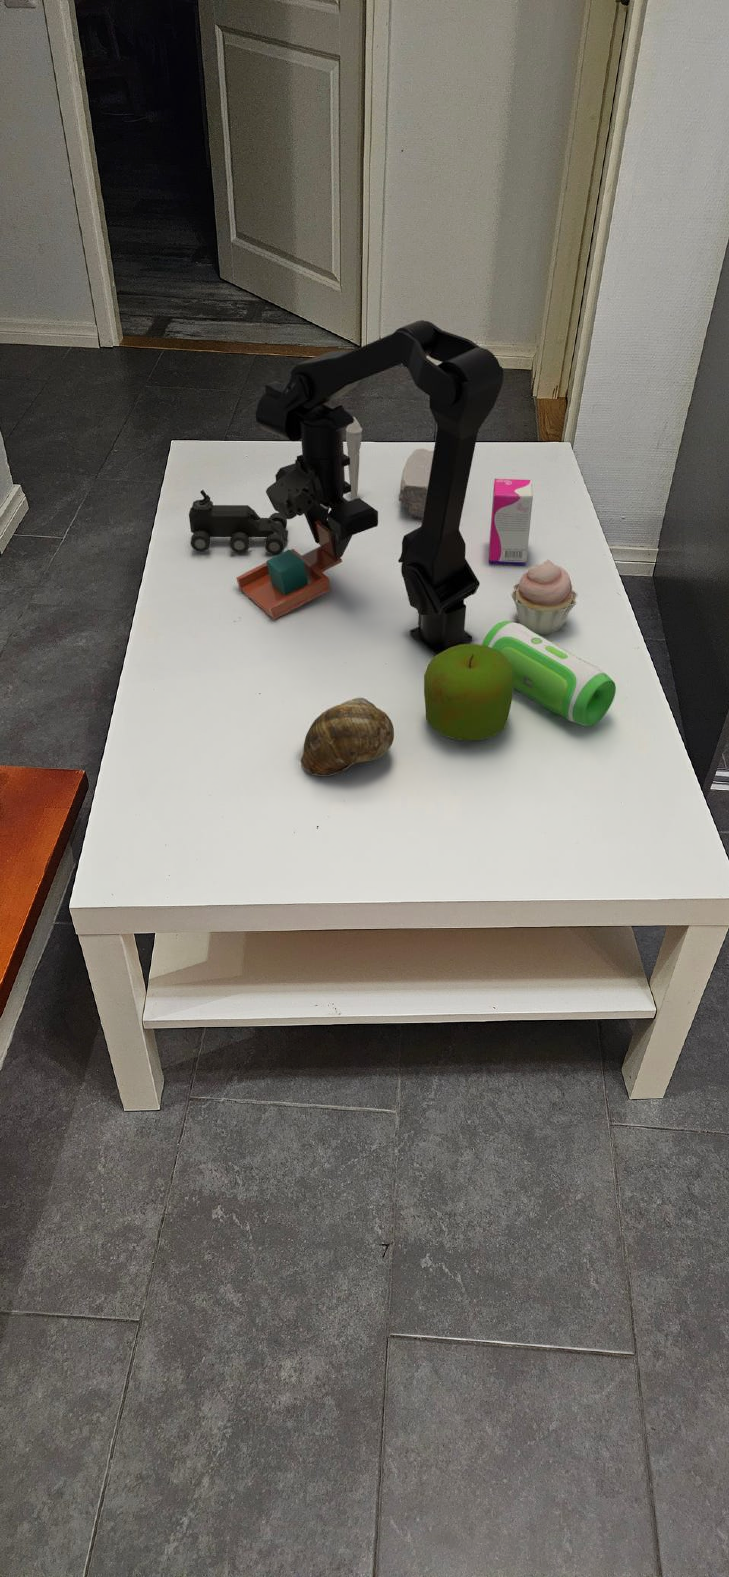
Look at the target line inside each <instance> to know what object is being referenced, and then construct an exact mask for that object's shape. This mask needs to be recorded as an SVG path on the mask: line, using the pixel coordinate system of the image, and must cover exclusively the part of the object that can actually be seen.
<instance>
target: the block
mask: <svg viewBox="0 0 729 1577" xmlns="http://www.w3.org/2000/svg"><path fill="white" fill-rule="evenodd" d="M290 550H291V549H287V550H285V551H282V553H280V554H278V555H274V556H273V557H271V558H270V559H267V560H266V562H265V563H267V567H268V571H269V575H270V579H271V583H272V584H273V585H274V586H275V587H277V588H278V589H279V590H280V591H281V592H282V593H284V594H285V595H287V594H289V593H291V592H292V591H294V590H296V589H298V588H300V587H302V586H304V585H306V584H308V580H307V575H306V571H305V566H304V561H303V560H302V559H300V558H299V557H298V556H297V555H295V554H294V553H293V552H292V551H290Z"/></svg>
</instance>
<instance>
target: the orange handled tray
mask: <svg viewBox="0 0 729 1577" xmlns="http://www.w3.org/2000/svg"><path fill="white" fill-rule="evenodd" d="M314 523H315V528H316V533H317V538H318V543H317V544H318V545H319V546H317V547H316V548H314V549H312V550H310V551H308V552H307V553H305V554H302V555H301V554H300V553H299V552H298V551H297V550H296V549H294V548H291V549H289V550H290V551H292V552H293V553H294V554H295V555H297V556H298V557H299V558H300V559H302V560H303V561H304V566H305V571H306V575H307V580H308V584H306V585H304V586H302V587H300V588H298V589H296V590H294V591H292V592H291V593H289V594H287V595H285V594H284V593H282V592H281V591H280V590H279V589H278V588H277V587H275V586H274V585H273V584H272V583H271V579H270V575H269V571H268V567H267V563H266V562H264V563H262V564H260V565H257V566H256V567H254V568H252V569H250V570H248V571H246V572H244V573H243V574H241V575H238V576H237V577H236V582H237V586H238V589H239V590H240V591H241V592H242V593H243V594H244V595H245V596H246V597H248V599H249V600H251V601H252V602H253V603H254V604H255V605H257V607H259V608H260V609H261V610H262V611H263V612H264V613H265V614H266V615H268V617H270V618H271V619H272V620H273V621H274V620H276V619H278V618H280V617H282V616H284V615H286V614H288V613H289V612H291V611H293V610H296V609H298V608H299V607H302V606H303V605H305V604H307V603H308V602H311V601H313V600H314V599H317V597H319V596H321V595H323V594H325V593H327V592H329V591H331V590H332V586H331V580H330V577H329V576H327V575H326V574H325V573H324V572H326V571H327V570H329V569H332V568H333V567H335V566H337V565H339V564H341V563H343V558H342V557H341V558H338V559H336V558H335V557H334V553H333V549H332V543H331V537H330V531H329V530H328V529H327V528H325V527H324V526H323V525H322V524H321V521H320V520H317V521H315V522H314Z"/></svg>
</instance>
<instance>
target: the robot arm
mask: <svg viewBox="0 0 729 1577" xmlns="http://www.w3.org/2000/svg"><path fill="white" fill-rule="evenodd" d="M428 357H430V358H431V359H432V360H435V361H438V362H441V363H439V364H435V363H434V362H433V361H431V360H430V359H429V358H428ZM400 365H402V366H403V367H405V368H406V369H407V370H408V372H409V374H410V376H411V379H412V381H413V383H414V385H415V386H416V387H417V388H418V389H419V390H421V391H422V392H423V393H425V394H426V395H427V396H429V410H430V413H431V415H432V417H433V419H434V421H435V424H436V426H437V427H436V428H437V429H436V436H435V442H434V446H433V451H434V452H433V458H432V465H431V471H430V477H429V483H428V489H427V495H426V501H425V507H424V513H423V519H421V524H420V526H419V527H417V528H415V529H414V530H411V531H410V532H408V533H406V534H404V535H403V538H402V540H401V554H400V557H399V558H398V560H397V561H398V563H400V564H401V565H400V572H401V577H402V579H403V582H404V583H403V584H404V586H405V590H406V594H407V599H408V603H409V605H410V607H412V608H414V609H416V611H417V614H418V616H417V625H418V626H417V627H415V628H412V629H410V630H409V635H410V636H411V637H413V638H414V639H415V640H416V641H418V643H420V644H421V645H422V646H424V647H425V648H426V649H427V650H428V651H430V652H431V653H432V654H434V655H435V656H436V655H438V654H439V653H441V652H443V651H445V650H446V649H448V648H450V647H454V646H457V645H461V644H469V643H471V642H472V641H473V636H472V635H471V634H469V633H468V632H467V631H466V630H465V629H466V628H465V627H466V613H467V605H466V604H465V600H466V599H468V598H470V596H474V595H475V594H476V593H477V592H478V589H479V587H480V584H481V583H480V581H479V579H478V577H477V576H476V573H475V572H474V571H473V568H472V567H471V565H470V563H469V562H468V560H467V559H466V547H467V544H466V541H465V539H464V537H463V536H462V535H463V534H462V533H461V531H460V525H461V519H462V515H463V509H464V504H465V499H466V494H467V489H468V485H469V479H470V474H471V469H472V465H473V460H474V453H475V449H476V443H477V438H478V433H479V431H480V429H481V427H482V425H483V424H484V423H485V420H486V419H487V417H488V416H489V414H490V413H491V412H492V411H493V409H494V407H495V405H496V403H497V400H498V397H499V395H500V392H501V390H502V389H501V388H502V386H503V383H504V375H505V374H504V368H503V366H501V365H500V362H499V360H498V358H497V357H496V356H495V355H494V353H493V352H492V351H490V350H489V349H488V348H484V347H481V346H479V345H478V344H477V343H475V342H474V341H472V340H471V339H469V338H466V337H463V336H460V335H457V334H455V333H451V332H449V331H445V330H443V329H441V328H440V327H438V326H437V325H435V324H434V323H433V322H430V321H429V320H424V319H421V320H416V321H414V322H412V323H409V324H406V325H403V326H402V327H399V328H397V329H395V331H394V332H393V333H390V334H388V335H386V336H383V337H381V338H378V339H376V340H374V341H372V342H369V343H367V344H364V345H362V346H359V347H358V348H355V349H353V350H346V349H341V350H334V351H328V352H325V353H323V354H319V355H317V356H315V357H312V358H309V359H307V360H305V361H302V362H299V363H296V364H294V365H293V367H292V368H291V369H290V380H289V381H288V383H287V385H285V384H283V383H282V382H279V381H278V380H274V381H271V382H269V383H267V384H265V385H264V393H263V395H262V396H261V397H260V399H259V401H258V404H257V406H256V410H255V422H256V423H257V425H258V427H259V428H261V429H262V430H264V431H266V432H269V433H272V434H274V435H276V436H278V437H281V438H283V439H285V440H288V441H291V442H298V441H301V454H299V455H296V459H295V461H294V462H293V463H291V464H288V465H286V466H281V467H280V468H279V469H278V471H277V472H276V474H275V482H273V483H272V484H270V485H269V486H268V487H267V488H266V490H265V493H266V495H267V498H268V500H269V502H270V504H271V505H272V507H273V510H274V511H276V512H277V513H280V514H281V515H283V517H284V518H286V519H287V520H292V519H294V518H296V517H297V516H303V515H304V517H305V520H306V523H307V524H308V527H309V530H310V532H311V535H312V538H313V540H314V542H315V543H316V544H319V543H318V538H317V533H316V528H315V523H314V522H315V521H317V520H320V521H321V524H322V525H323V526H324V527H325V528H327V529H328V530H329V531H330V537H331V543H332V549H333V553H334V557H335V558H336V559H338V558H341V559H342V557H343V555H345V554H344V553H345V552H346V549H347V547H348V546H349V543H350V541H351V539H352V537H353V536H354V535H357V534H359V533H362V532H366V531H368V530H370V529H373V528H376V527H378V525H379V511H378V510H377V509H376V508H374V507H373V506H371V505H370V504H368V502H366V501H364V500H363V499H361V498H360V497H357V498H355V499H354V498H353V499H351V500H348V499H347V498H345V497H344V495H345V494H350V492H351V485H350V482H348V481H346V474H345V467H348V465H350V457H348V454H345V453H344V452H345V451H344V431H343V429H344V428H347V427H348V425H350V424H352V423H354V418H353V417H354V416H352V414H351V413H349V412H348V411H347V410H346V409H345V408H344V406H343V405H342V404H340V405H338V406H335V407H334V406H331V405H329V404H327V403H329V402H332V401H334V400H336V399H339V398H340V397H342V396H345V395H346V394H348V393H349V392H350V391H351V390H353V389H354V388H355V387H357V386H358V385H359V383H360V382H361V381H363V380H364V379H367V378H369V377H372V376H374V375H376V374H380V373H382V372H384V371H387V370H389V369H392V368H395V367H397V366H400Z"/></svg>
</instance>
